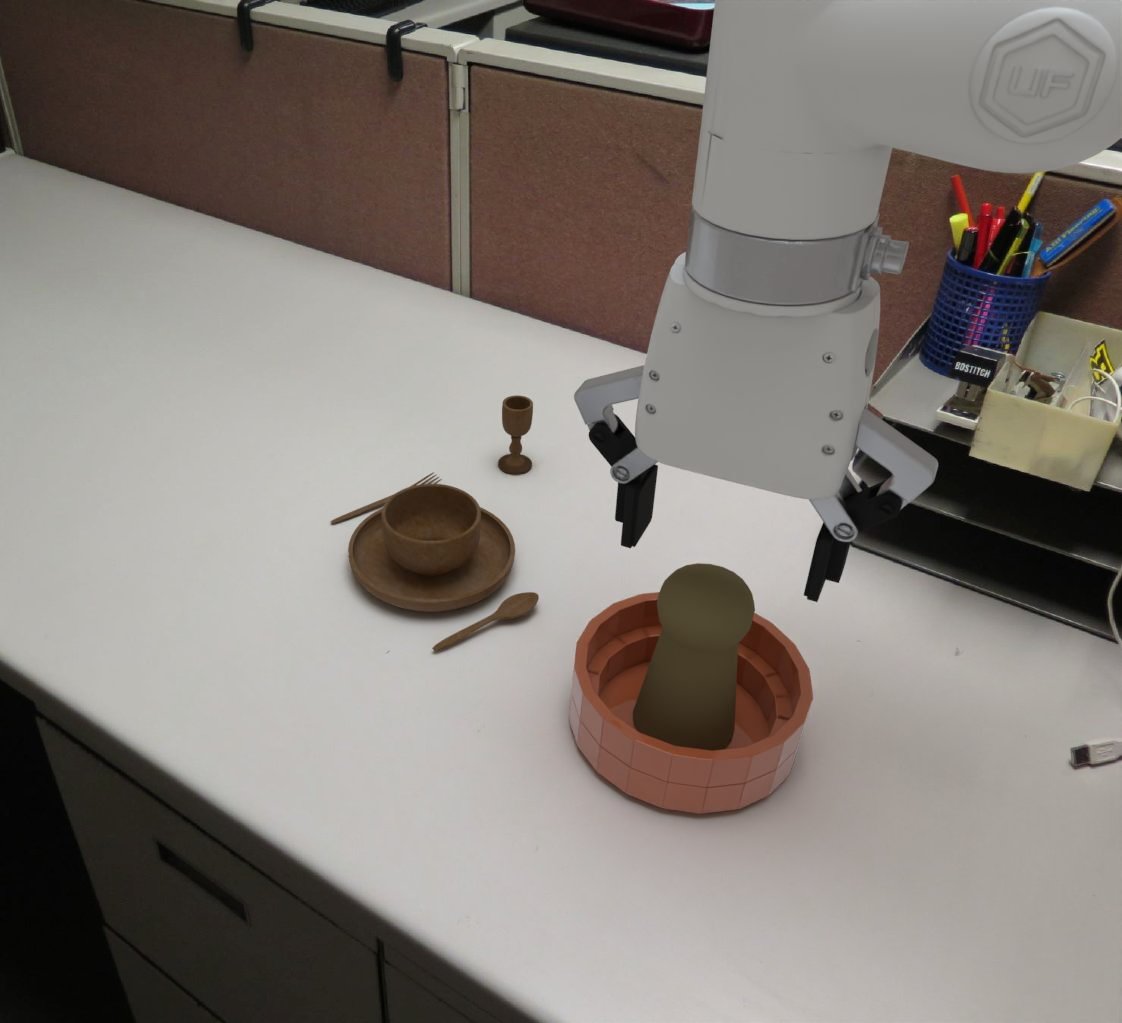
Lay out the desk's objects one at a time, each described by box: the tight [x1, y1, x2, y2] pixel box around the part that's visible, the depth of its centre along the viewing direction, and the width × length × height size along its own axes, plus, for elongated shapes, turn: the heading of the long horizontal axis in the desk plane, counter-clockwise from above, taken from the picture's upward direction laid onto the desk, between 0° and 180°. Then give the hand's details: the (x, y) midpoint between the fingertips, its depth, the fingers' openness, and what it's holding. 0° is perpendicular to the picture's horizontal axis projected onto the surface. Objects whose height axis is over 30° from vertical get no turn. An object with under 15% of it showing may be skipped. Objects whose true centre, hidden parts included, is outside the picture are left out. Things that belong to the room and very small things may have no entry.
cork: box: [633, 562, 756, 751], centre depth 60 cm, size 6×6×11 cm
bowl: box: [568, 591, 814, 814], centre depth 62 cm, size 13×13×5 cm
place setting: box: [330, 395, 540, 651], centre depth 76 cm, size 18×20×6 cm
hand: (723, 558), depth 55 cm, fingers open, 9 cm apart
